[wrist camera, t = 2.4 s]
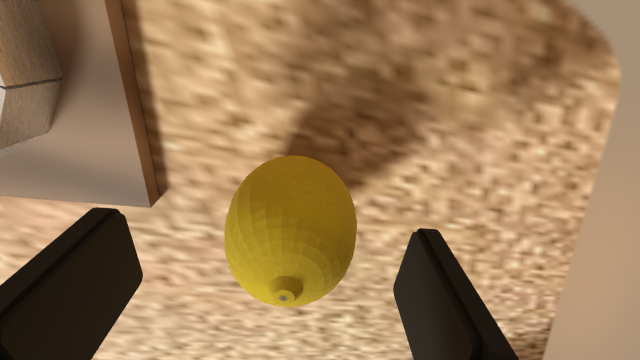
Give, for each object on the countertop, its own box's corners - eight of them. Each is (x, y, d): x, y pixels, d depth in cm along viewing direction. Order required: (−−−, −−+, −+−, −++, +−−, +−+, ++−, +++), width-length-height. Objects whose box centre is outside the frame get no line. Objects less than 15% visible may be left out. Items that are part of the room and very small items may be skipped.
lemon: (350, 134, 14) (383, 229, 7) (343, 219, 17) (363, 352, 10) (244, 132, 14) (172, 227, 7) (253, 218, 17) (208, 351, 10)
